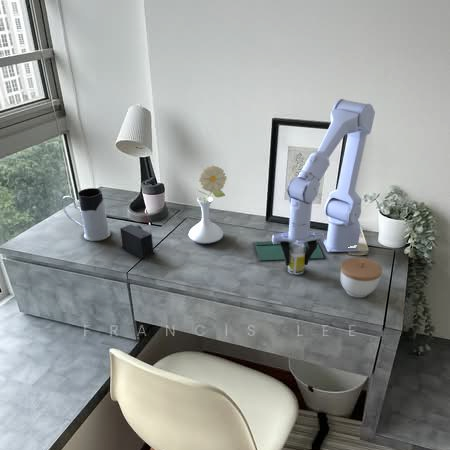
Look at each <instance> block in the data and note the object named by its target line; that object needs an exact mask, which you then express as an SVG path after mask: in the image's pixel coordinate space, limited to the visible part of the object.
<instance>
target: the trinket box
mask: <svg viewBox="0 0 450 450" xmlns="http://www.w3.org/2000/svg"><path fill="white" fill-rule="evenodd" d="M340 264H341V265H340V273H339V278H340V279H339V280H340V284H341V286H342V288H343V289H344V291H345V292H346V293H347V294H348V296H351V297H353V298H366V297H367V296H368V295H370V294H372V293H373V292H374V291H375V290H376V289H377V287H378V285H379V283H380V281H381V277H382V274H383V267H382V266H381V264H379V263H378V262H377V261H375V260H372V259H370V258H366V257H357V256H356V257H349V258H346V259H345V260H344V259H343V261H342V262H341V263H340Z"/></svg>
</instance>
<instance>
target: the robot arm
mask: <svg viewBox="0 0 450 450" xmlns="http://www.w3.org/2000/svg"><path fill="white" fill-rule="evenodd" d="M375 114H376V111H375V109H374V106H373V104H371V103H363V102H357V101H353V100H347V99H344V98H340V99H338V100H337V101H336V102H335V103H334V105H333V107H332V110H331V111H330V124H329V127H328V129H327V130H326V133H325V135H324V137H323V139H322V141H321V143H320V145H319V147H318V148H317V151H314V152H312V153H310V155H309V156H308V158H307V160H306V161H305V164H303V167H302V168H301V170H300V172H299V173H298V176H295V177H294V178H292V179H291V180H290V181H289V183H288V186H287V188H286V194H287V195H286V196H287V197H288V203H289V206H290V208H289V219H288V220H289V221H288V231H287V232H281V233H276V234H272V237H271V241H272V242H273V244H277V243H280V245H281V248H282V250H283V252H284V256H285V260H284V263H285V266H286V267H288V266H289V253H290V246H289V245H290V244H289V242H295V243H297V244H304V243H305V253H306V254H305V266H308V265H309V261H310V260H311V259H310V257H311V255H312V253H313V252H314V251H315V249H316V248H317V243H316V242H320V243H323V245H324V246H325V247H324V248H325V249H326V251H327V252H328V253H346V252H347V253H349V252H358V251H359V250H358V247H357V248H348V247H350V246H354V245H358V246H359V241H360V234H361V224H360V221H359V219H360V217H361V214H362V202H363V201H362V198H361V196H360V195H358V193H357V192H356V187H357V182H358V177H359V173H360V169H361V164H362V159H363V155H364V150H365V146H366V141H367V137H368V135H371V132H372V128H373V123H374V120H375ZM346 135H347V138H346V143H345V148H344V153H343V157H342V162H341V168H340V173H339V179H338V183H337V187H336V189H335V190H332V191H331V192H330V193H329V194H328V197H327V200H326V201H325V204H324V214H325V216H327V217H326V219H327V220H328V226H327V227H328V228H327V234H326V235H327V236H326V235H325V234H324V232H313V231H310V228H311V219H312V208H313V202H314V200H315V199H316V198H317V197H318V194H319V189H320V187H321V183H320V182H321V180H322V178H323V177H324V175H325V173H326V172H327V170H328V168H329V167H330V157H331V155H332V154H333V152H334V151H335V150H336V148H337V147H338V146H339V144H340V142H341V141H342V140H343V138H344V137H345V136H346Z"/></svg>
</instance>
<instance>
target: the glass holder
mask: <svg viewBox="0 0 450 450" xmlns="http://www.w3.org/2000/svg"><path fill="white" fill-rule="evenodd" d="M77 196H78V202H79V206H77V203H76V200H75V199H74V198H73V197H72V196H70V195H65V196H63V197H62V198H61V201H60V203H61V204H60V205H61V208H62V210H63V212H64V214H65V215H66V216H67V217H68V218H69V220H71V221H73V222H74V223H76V224H77V225H78V226H80V227H81V228H82V229H83V231H84V234H83V238H84V239H85V240H87V241H90V242H99V241H103V240H106V239H108V238H109V237H110V236H111V231H110V229H109V225H108V218H107V217H108V216H107V212H106V205H105V200H104V196H103V190H101V189H100V188H96V187H89V188H84V189H81V190H79V191H78V192H77ZM65 198H68V199H70V200H71V201H72V202H73V205H74V208H75V209H76V210H80V211H79V212H80V215H81V216H80V217H81V222H82V224H81V223H80V222H79V221H77V220H76V219H74V218H73V217H71V215H69V213H68V212H67V211H66V208H65V206H64V201H63V200H64V199H65Z"/></svg>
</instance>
